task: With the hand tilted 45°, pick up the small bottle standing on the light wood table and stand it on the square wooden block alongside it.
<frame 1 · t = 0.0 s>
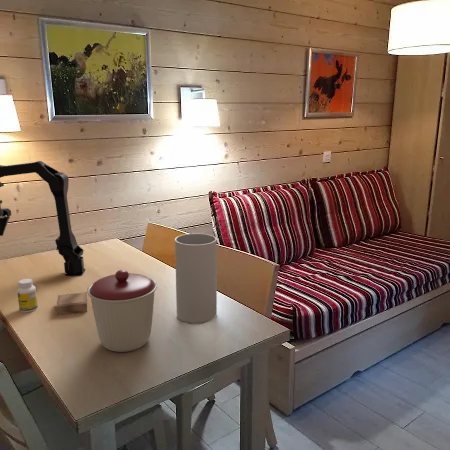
canister: (125, 343, 118), on the table
square wooden block: (72, 307, 139), on the table
cylinder vase: (196, 315, 134), on the table
supplement bottle: (28, 309, 138), on the table
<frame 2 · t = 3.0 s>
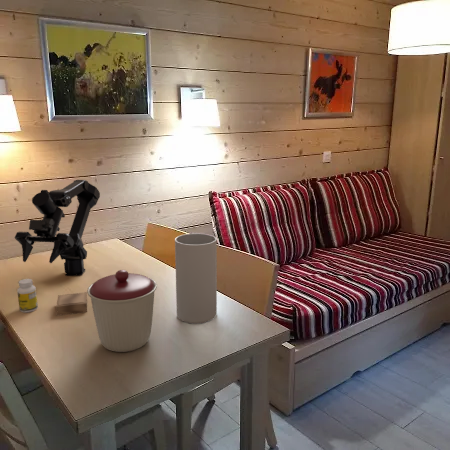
hand: (37, 262, 141), 13 cm above the table, tool tilted 45°, fingers open, 9 cm apart
nothing on the table moved.
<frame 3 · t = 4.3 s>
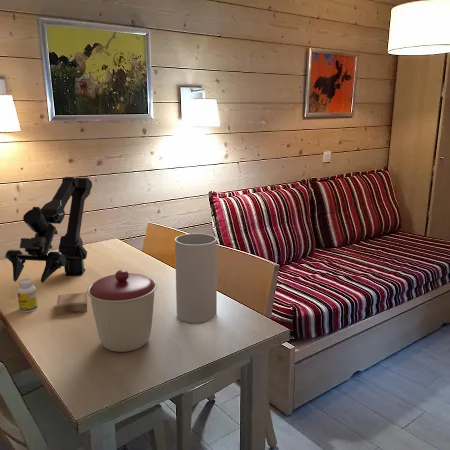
hand: (28, 281, 137), 9 cm above the table, tool tilted 45°, fingers open, 9 cm apart
nothing on the table moved.
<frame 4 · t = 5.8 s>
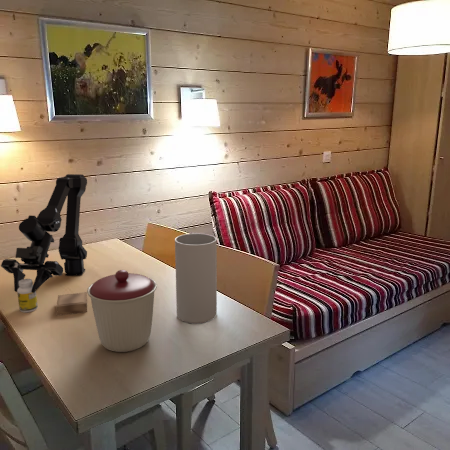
hand: (24, 291, 135), 7 cm above the table, tool tilted 45°, fingers closed on supplement bottle, 5 cm apart
supplement bottle: (28, 309, 138), on the table, touching gripper
everything else where it was.
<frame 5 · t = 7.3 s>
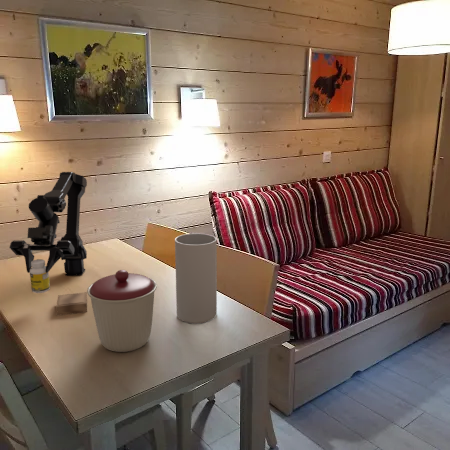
hand: (37, 272, 133), 13 cm above the table, tool tilted 45°, fingers closed on supplement bottle, 5 cm apart
supplement bottle: (41, 290, 136), point 6 cm above the table, touching gripper
everything else where it was.
when the fingers open (10 cm above the table, at t = 9.0 s): supplement bottle stays where it is, resting on square wooden block.
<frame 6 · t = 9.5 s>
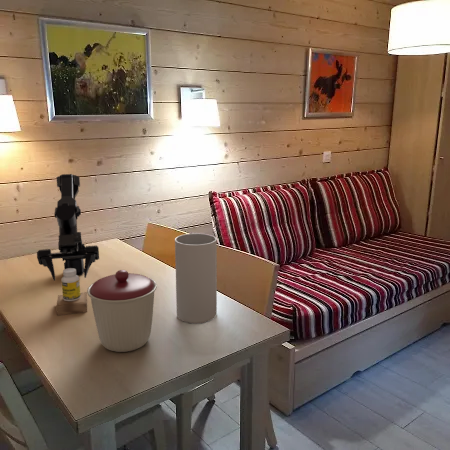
hand: (69, 278, 135), 11 cm above the table, tool tilted 45°, fingers open, 9 cm apart
supplement bottle: (72, 299, 138), point 3 cm above the table, touching square wooden block
everything else where it was.
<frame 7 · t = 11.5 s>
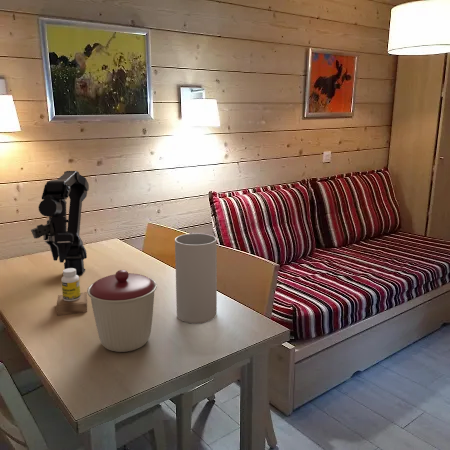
hand: (58, 261, 149), 11 cm above the table, tool pointing down, fingers open, 9 cm apart
nothing on the table moved.
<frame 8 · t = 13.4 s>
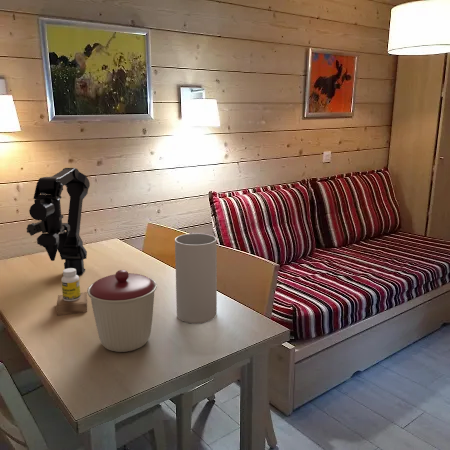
hand: (56, 256, 152), 12 cm above the table, tool pointing down, fingers open, 9 cm apart
nothing on the table moved.
at the end: supplement bottle inside the target area on the square wooden block (0.2 cm from its centre), point 3.0 cm above the square wooden block's base; supplement bottle tilted 0°; the gripper is holding nothing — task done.
